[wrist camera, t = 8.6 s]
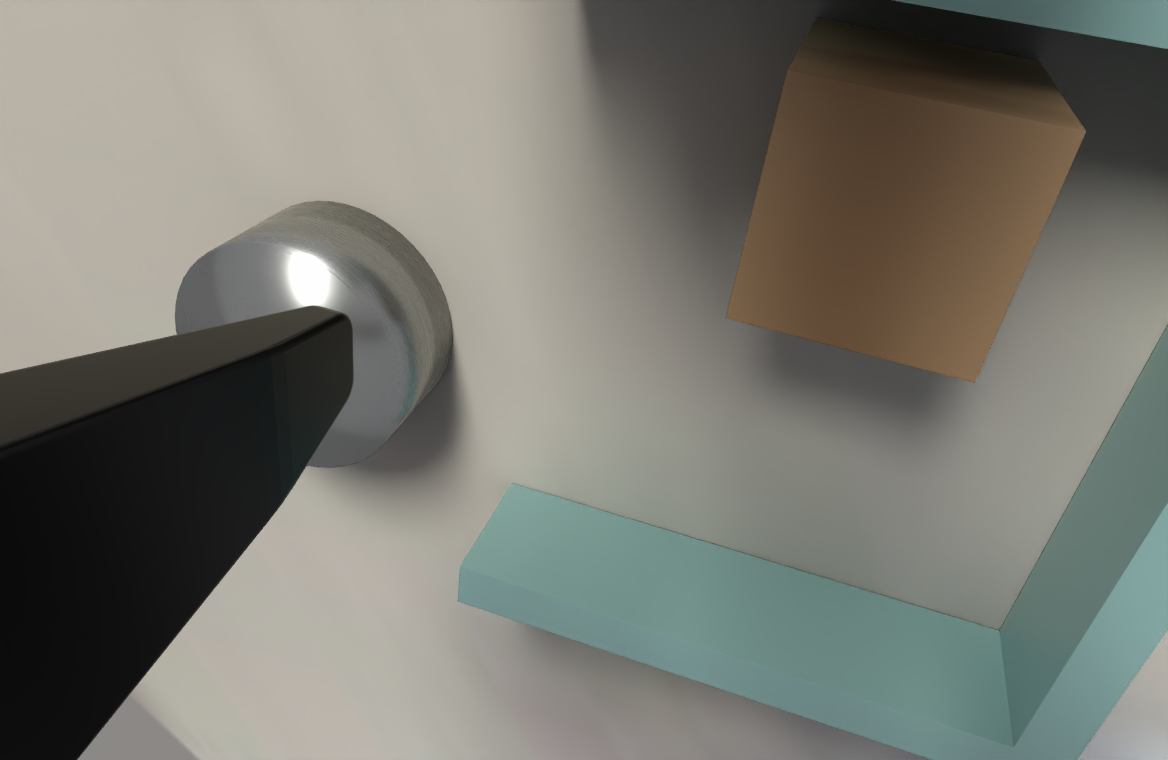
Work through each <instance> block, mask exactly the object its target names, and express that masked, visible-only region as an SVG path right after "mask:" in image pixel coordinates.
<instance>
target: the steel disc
mask: <svg viewBox="0 0 1168 760" xmlns="http://www.w3.org/2000/svg"><path fill="white" fill-rule="evenodd" d="M311 305H315V306H321V307H324V308H328V309H332V310H335V311H339V312H342V313H345V314H346V315H347V316H348V317H349V318H350V319H351V322H352V326H353V360H354V381H353V387H352V391H351V394H350V396H349V398H348V400H347V402H346V404H345V405H344V407H343V409H342V410H341V412H340V413H339V415H338V417H337V418H336V420H335V421H334V423H333V424H332V426H331V428H330V429H329V431H328V432H327V434H326V436H325V437H324V439H323V440H322V442H321V444H320V445H319V447H318V448H317V450H316V452H315V453H314V455H313V456H312V458H311V460H310V461H309V463H308V464H307V466H314V467H340V466H346V465H350V464H354V463H357V462H359V461H361V460H363V459H365V458H367V457H369V456H370V455H372V454H373V453H375V452H376V451H377V450H378V449H379V448H380V447H381V446H382V445H383V444H384V443H385V442H386V441H387V440H388V438H389V437H390V436H391V435H392V434H393V433H394V432H395V431H396V429H397V428H398V427H399V426H400V425H401V424H402V423H403V422H404V420H405V419H406V418H407V417H408V416H409V415H410V414H411V413H412V411H413V410H414V409H415V408H416V407H417V406H418V405H419V404H420V402H421V401H422V400H423V399H424V398H425V397H426V396H427V395H428V393H429V392H430V391H431V390H432V389H433V388H434V387H435V385H436V384H437V383H438V381H439V380H440V379H441V377H442V376H443V374H444V371H445V369H446V367H447V365H448V362H449V358H450V355H451V349H452V341H453V338H452V322H451V315H450V310H449V307H448V303H447V300H446V297H445V295H444V292H443V290H442V287H441V285H440V283H439V281H438V279H437V277H436V276H435V274H434V272H433V270H432V269H431V267H430V266H429V264H428V263H427V262H426V260H425V259H424V257H423V256H422V255H421V254H420V253H419V251H418V250H417V249H416V248H415V247H414V246H413V245H412V244H411V243H410V242H409V241H408V240H407V239H406V238H405V237H404V236H403V235H402V234H401V233H400V232H398V231H397V230H396V229H394V228H393V227H392V226H390V225H389V224H388V223H386V222H384V221H383V220H381V219H379V218H378V217H376V216H374V215H372V214H370V213H368V212H366V211H364V210H361V209H359V208H356V207H353V206H350V205H346V204H342V203H336V202H330V201H313V202H304V203H300V204H297V205H293V206H291V207H288V208H286V209H284V210H282V211H280V212H278V213H277V214H275V215H273V216H271V217H270V218H268V219H266V220H264V221H263V222H261V223H259V224H257V225H256V226H254V227H252V228H250V229H248V230H247V231H245V232H243V233H241V234H240V235H238V236H236V237H234V238H233V239H231V240H229V241H227V242H226V243H224V244H222V245H220V246H219V247H217V248H215V249H213V250H211V251H210V252H208V253H207V254H205V255H204V256H202V257H201V258H200V259H198V260H197V261H196V262H195V263H194V264H193V266H192V267H191V268H190V269H189V270H188V272H187V274H186V275H185V277H184V278H183V280H182V283H181V286H180V288H179V291H178V295H177V300H176V309H175V322H176V332H177V335H178V334H183V333H187V332H192V331H197V330H201V329H206V328H210V327H215V326H219V325H224V324H228V323H233V322H237V321H242V320H247V319H251V318H256V317H260V316H265V315H269V314H274V313H278V312H283V311H288V310H292V309H297V308H301V307H306V306H311Z"/></svg>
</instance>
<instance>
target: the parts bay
mask: <svg viewBox="0 0 1168 760" xmlns="http://www.w3.org/2000/svg"><path fill="white" fill-rule="evenodd" d="M893 1H899V2H905V3H910V4H916V5H922V6H927V7H933V8H939V9H944V10H950V11H955V12H961V13H967V14H972V15H978V16H984V17H989V18H995V19H1001V20H1006V21H1012V22H1018V23H1023V24H1029V25H1035V26H1040V27H1046V28H1052V29H1057V30H1063V31H1069V32H1074V33H1080V34H1086V35H1091V36H1097V37H1103V38H1108V39H1114V40H1119V41H1125V42H1131V43H1136V44H1142V45H1148V46H1153V47H1159V48H1165V49H1168V0H893ZM458 602H461V603H464V604H467V605H470V606H473V607H476V608H479V609H482V610H485V611H488V612H491V613H494V614H497V615H500V616H503V617H506V618H509V619H512V620H515V621H518V622H521V623H524V624H527V625H530V626H533V627H536V628H539V629H542V630H545V631H548V632H551V633H554V634H557V635H560V636H563V637H566V638H569V639H572V640H575V641H578V642H581V643H584V644H587V645H590V646H593V647H596V648H599V649H602V650H605V651H608V652H611V653H614V654H617V655H620V656H623V657H626V658H629V659H632V660H635V661H638V662H641V663H644V664H647V665H650V666H653V667H656V668H659V669H662V670H665V671H668V672H671V673H674V674H677V675H680V676H683V677H686V678H689V679H692V680H695V681H698V682H701V683H704V684H707V685H710V686H713V687H716V688H719V689H722V690H725V691H728V692H731V693H734V694H737V695H740V696H743V697H746V698H748V699H751V700H754V701H757V702H760V703H763V704H766V705H769V706H772V707H775V708H778V709H781V710H784V711H787V712H790V713H793V714H796V715H799V716H802V717H805V718H808V719H811V720H814V721H817V722H820V723H823V724H826V725H829V726H832V727H835V728H838V729H841V730H844V731H847V732H850V733H853V734H856V735H859V736H862V737H865V738H868V739H871V740H874V741H877V742H880V743H883V744H886V745H889V746H892V747H895V748H898V749H901V750H904V751H907V752H910V753H913V754H916V755H919V756H922V757H925V758H928V759H931V760H1077V759H1078V757H1079V756H1080V755H1081V753H1082V752H1083V750H1084V749H1085V747H1086V746H1087V745H1088V743H1089V742H1090V740H1091V739H1092V737H1093V736H1094V735H1095V733H1096V732H1097V730H1098V729H1099V727H1100V726H1101V725H1102V723H1103V722H1104V720H1105V719H1106V717H1107V716H1108V715H1109V713H1110V712H1111V710H1112V709H1113V707H1114V706H1115V705H1116V703H1117V702H1118V700H1119V699H1120V697H1121V696H1122V695H1123V693H1124V692H1125V690H1126V689H1127V687H1128V686H1129V685H1130V683H1131V682H1132V680H1133V679H1134V677H1135V676H1136V675H1137V673H1138V672H1139V670H1140V669H1141V667H1142V666H1143V665H1144V663H1145V662H1146V660H1147V659H1148V658H1149V656H1150V655H1151V653H1152V652H1153V650H1154V649H1155V648H1156V646H1157V645H1158V643H1159V642H1160V640H1161V639H1162V638H1163V636H1164V635H1165V633H1166V632H1167V630H1168V325H1167V327H1166V329H1165V331H1164V333H1163V335H1162V336H1161V338H1160V340H1159V342H1158V344H1157V345H1156V347H1155V349H1154V351H1153V353H1152V355H1151V356H1150V358H1149V360H1148V362H1147V364H1146V365H1145V367H1144V369H1143V371H1142V373H1141V374H1140V376H1139V378H1138V380H1137V382H1136V384H1135V385H1134V387H1133V389H1132V391H1131V393H1130V394H1129V396H1128V398H1127V400H1126V402H1125V404H1124V405H1123V407H1122V409H1121V411H1120V413H1119V414H1118V416H1117V418H1116V420H1115V422H1114V424H1113V425H1112V427H1111V429H1110V431H1109V433H1108V434H1107V436H1106V438H1105V440H1104V442H1103V444H1102V445H1101V447H1100V449H1099V451H1098V453H1097V454H1096V456H1095V458H1094V460H1093V462H1092V463H1091V465H1090V467H1089V469H1088V471H1087V473H1086V474H1085V476H1084V478H1083V480H1082V482H1081V483H1080V485H1079V487H1078V489H1077V491H1076V493H1075V494H1074V496H1073V498H1072V500H1071V502H1070V503H1069V505H1068V507H1067V509H1066V511H1065V513H1064V514H1063V516H1062V518H1061V520H1060V522H1059V523H1058V525H1057V527H1056V529H1055V531H1054V532H1053V534H1052V536H1051V538H1050V540H1049V542H1048V543H1047V545H1046V547H1045V549H1044V551H1043V552H1042V554H1041V556H1040V558H1039V560H1038V562H1037V563H1036V565H1035V567H1034V569H1033V571H1032V572H1031V574H1030V576H1029V578H1028V580H1027V582H1026V583H1025V585H1024V587H1023V589H1022V591H1021V592H1020V594H1019V596H1018V598H1017V600H1016V601H1015V603H1014V605H1013V607H1012V609H1011V611H1010V612H1009V614H1008V616H1007V618H1006V620H1005V621H1004V623H1003V625H1002V627H1001V629H1000V631H998V630H995V629H991V628H988V627H985V626H982V625H978V624H975V623H972V622H968V621H965V620H962V619H958V618H955V617H952V616H949V615H945V614H942V613H939V612H935V611H932V610H929V609H925V608H922V607H919V606H916V605H912V604H909V603H906V602H902V601H899V600H896V599H892V598H889V597H886V596H883V595H879V594H876V593H873V592H869V591H866V590H863V589H859V588H856V587H853V586H850V585H846V584H843V583H840V582H836V581H833V580H830V579H826V578H823V577H820V576H817V575H813V574H810V573H807V572H803V571H800V570H797V569H793V568H790V567H787V566H784V565H780V564H777V563H774V562H770V561H767V560H764V559H760V558H757V557H754V556H751V555H747V554H744V553H741V552H737V551H734V550H731V549H727V548H724V547H721V546H718V545H714V544H711V543H708V542H704V541H701V540H698V539H694V538H691V537H688V536H685V535H681V534H678V533H675V532H671V531H668V530H665V529H661V528H658V527H655V526H652V525H648V524H645V523H642V522H638V521H635V520H632V519H628V518H625V517H622V516H619V515H615V514H612V513H609V512H605V511H602V510H599V509H595V508H592V507H589V506H586V505H582V504H579V503H576V502H572V501H569V500H566V499H562V498H559V497H556V496H553V495H549V494H546V493H543V492H539V491H536V490H533V489H529V488H526V487H523V486H520V485H516V484H513V483H512V484H511V486H510V488H509V489H508V491H507V492H506V494H505V496H504V497H503V499H502V500H501V502H500V504H499V505H498V507H497V508H496V510H495V512H494V513H493V515H492V516H491V518H490V520H489V521H488V523H487V524H486V526H485V528H484V529H483V531H482V532H481V534H480V536H479V537H478V539H477V540H476V542H475V544H474V545H473V547H472V548H471V550H470V552H469V553H468V555H467V556H466V558H465V560H464V561H463V563H462V564H461V566H460V574H459V590H458Z"/></svg>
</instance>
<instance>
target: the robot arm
mask: <svg viewBox="0 0 1168 760" xmlns="http://www.w3.org/2000/svg"><path fill="white" fill-rule="evenodd" d="M353 381H354V360H353V326H352V322H351V319H350V318H349V317H348V316H347V315H346V314H345V313H342V312H339V311H335V310H332V309H328V308H324V307H321V306H315V305H311V306H306V307H301V308H297V309H292V310H288V311H283V312H278V313H274V314H269V315H265V316H260V317H256V318H251V319H247V320H242V321H237V322H233V323H228V324H224V325H219V326H215V327H210V328H206V329H201V330H197V331H192V332H187V333H183V334H178V335H174V336H169V337H165V338H160V339H156V340H151V341H146V342H142V343H137V344H133V345H128V346H124V347H119V348H115V349H110V350H106V351H101V352H96V353H92V354H87V355H83V356H78V357H74V358H69V359H65V360H60V361H55V362H51V363H46V364H42V365H37V366H33V367H28V368H24V369H19V370H15V371H10V372H5V373H1V374H0V760H77V759H78V758H79V757H80V756H81V754H82V753H83V752H84V751H85V749H86V748H87V747H88V745H89V744H90V743H91V742H92V741H93V739H94V738H95V737H96V736H97V734H98V733H99V732H100V731H101V729H102V728H103V727H104V726H105V724H106V723H107V722H108V721H109V719H110V718H111V717H112V716H113V714H114V713H115V712H116V711H117V709H118V708H119V707H120V706H121V704H122V703H123V702H124V701H125V699H126V698H127V697H128V696H129V695H130V693H131V692H132V691H133V690H134V688H135V687H136V686H137V685H138V683H139V682H140V681H141V680H142V678H143V677H144V676H145V675H146V673H147V672H148V671H149V670H150V668H151V667H152V666H153V665H154V663H155V662H156V661H157V660H158V658H159V657H160V656H161V655H162V653H163V652H164V651H165V650H166V648H167V647H168V646H169V645H170V643H171V642H172V641H173V640H174V638H175V637H176V636H177V635H178V633H179V632H180V631H181V630H182V628H183V627H184V626H185V625H186V623H187V622H188V621H189V620H190V618H191V617H192V616H193V615H194V613H195V612H196V611H197V610H198V608H199V607H200V606H201V605H202V603H203V602H204V601H205V600H206V598H207V597H208V596H209V595H210V593H211V592H212V591H213V590H214V588H215V587H216V586H217V585H218V584H219V582H220V581H221V580H222V579H223V577H224V576H225V575H226V574H227V572H228V571H229V570H230V569H231V567H232V566H233V565H234V564H235V562H236V561H237V560H238V559H239V557H240V556H241V555H242V554H243V552H244V551H245V550H246V549H247V547H248V546H249V545H250V544H251V542H252V541H253V540H254V539H255V537H256V536H257V535H258V534H259V532H260V531H261V530H262V529H263V527H264V526H265V525H266V524H267V522H268V521H269V520H270V519H271V517H272V516H273V515H274V513H275V512H276V511H277V509H278V508H279V507H280V505H281V504H282V503H283V501H284V500H285V498H286V497H287V495H288V494H289V492H290V491H291V490H292V488H293V487H294V485H295V483H296V482H297V480H298V479H299V477H300V475H301V474H302V472H303V471H304V469H305V467H306V466H307V464H308V463H309V461H310V460H311V458H312V456H313V455H314V453H315V452H316V450H317V448H318V447H319V445H320V444H321V442H322V440H323V439H324V437H325V436H326V434H327V432H328V431H329V429H330V428H331V426H332V424H333V423H334V421H335V420H336V418H337V417H338V415H339V413H340V412H341V410H342V409H343V407H344V405H345V404H346V402H347V400H348V398H349V396H350V394H351V391H352V387H353Z"/></svg>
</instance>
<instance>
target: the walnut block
mask: <svg viewBox="0 0 1168 760" xmlns="http://www.w3.org/2000/svg"><path fill="white" fill-rule="evenodd" d="M1085 133H1086V130H1085V129H1084V127H1083V126H1082V124H1081V123H1080V121H1079V120H1078V118H1077V117H1076V115H1075V114H1074V112H1073V111H1072V109H1071V108H1070V106H1069V105H1068V104H1067V102H1066V101H1065V99H1064V98H1063V96H1062V95H1061V93H1060V92H1059V90H1058V89H1057V87H1056V86H1055V84H1054V83H1053V81H1052V80H1051V78H1050V77H1049V75H1048V74H1047V72H1046V71H1045V69H1044V68H1043V66H1042V65H1041V63H1040V62H1039V61H1037V60H1032V59H1027V58H1022V57H1016V56H1011V55H1006V54H1001V53H996V52H990V51H985V50H980V49H975V48H970V47H964V46H959V45H954V44H949V43H944V42H938V41H933V40H928V39H923V38H918V37H913V36H907V35H902V34H897V33H892V32H887V31H881V30H876V29H871V28H866V27H861V26H855V25H850V24H845V23H840V22H835V21H829V20H824V19H819V18H815V20H814V22H813V24H812V26H811V27H810V29H809V31H808V33H807V35H806V37H805V38H804V40H803V42H802V44H801V46H800V48H799V50H798V51H797V53H796V55H795V57H794V59H793V61H792V62H791V64H790V66H789V68H788V70H787V73H786V77H785V81H784V85H783V89H782V93H781V97H780V101H779V105H778V109H777V113H776V118H775V122H774V126H773V130H772V134H771V138H770V142H769V146H768V150H767V154H766V158H765V162H764V166H763V170H762V174H761V178H760V182H759V186H758V190H757V194H756V198H755V202H754V206H753V210H752V214H751V218H750V222H749V226H748V230H747V234H746V238H745V242H744V246H743V250H742V254H741V258H740V262H739V266H738V270H737V274H736V278H735V282H734V286H733V290H732V294H731V298H730V303H729V307H728V311H727V315H726V318H728V319H731V320H735V321H739V322H743V323H747V324H751V325H755V326H758V327H762V328H766V329H770V330H774V331H778V332H781V333H785V334H789V335H793V336H797V337H801V338H805V339H808V340H812V341H816V342H820V343H824V344H828V345H831V346H835V347H839V348H843V349H847V350H851V351H855V352H858V353H862V354H866V355H870V356H874V357H878V358H881V359H885V360H889V361H893V362H897V363H901V364H905V365H908V366H912V367H916V368H920V369H924V370H928V371H931V372H935V373H939V374H943V375H947V376H951V377H955V378H958V379H962V380H966V381H970V382H974V383H975V381H976V379H977V377H978V375H979V372H980V370H981V368H982V366H983V363H984V361H985V359H986V357H987V354H988V352H989V350H990V348H991V345H992V343H993V341H994V339H995V336H996V334H997V332H998V329H999V327H1000V325H1001V323H1002V320H1003V318H1004V316H1005V314H1006V311H1007V309H1008V307H1009V305H1010V302H1011V300H1012V298H1013V296H1014V293H1015V291H1016V289H1017V287H1018V284H1019V282H1020V280H1021V278H1022V275H1023V273H1024V271H1025V269H1026V266H1027V264H1028V262H1029V260H1030V257H1031V255H1032V253H1033V251H1034V248H1035V246H1036V244H1037V242H1038V239H1039V237H1040V235H1041V232H1042V230H1043V228H1044V226H1045V223H1046V221H1047V219H1048V217H1049V214H1050V212H1051V210H1052V208H1053V205H1054V203H1055V201H1056V199H1057V196H1058V194H1059V192H1060V190H1061V187H1062V185H1063V183H1064V181H1065V178H1066V176H1067V174H1068V172H1069V169H1070V167H1071V165H1072V163H1073V160H1074V158H1075V156H1076V154H1077V151H1078V149H1079V147H1080V145H1081V142H1082V140H1083V138H1084V136H1085Z"/></svg>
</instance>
